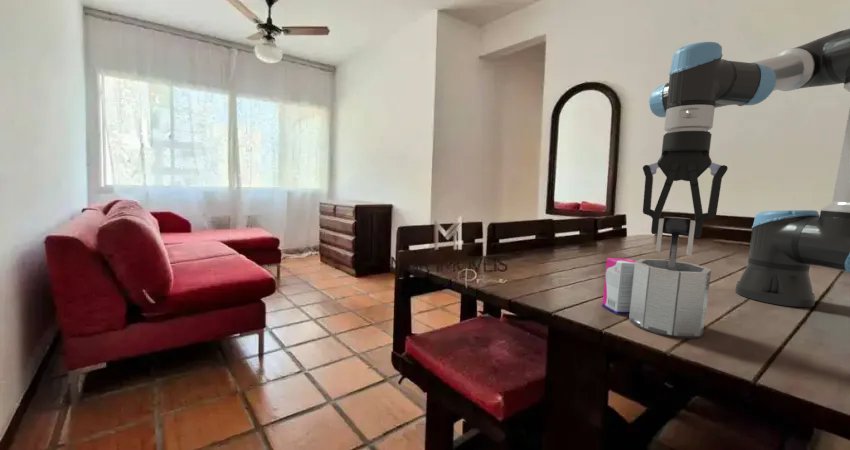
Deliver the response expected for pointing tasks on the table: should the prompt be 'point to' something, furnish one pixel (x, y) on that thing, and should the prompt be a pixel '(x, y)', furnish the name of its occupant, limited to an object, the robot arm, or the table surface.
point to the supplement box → (618, 285)
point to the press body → (669, 298)
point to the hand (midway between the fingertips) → (673, 252)
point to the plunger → (675, 235)
